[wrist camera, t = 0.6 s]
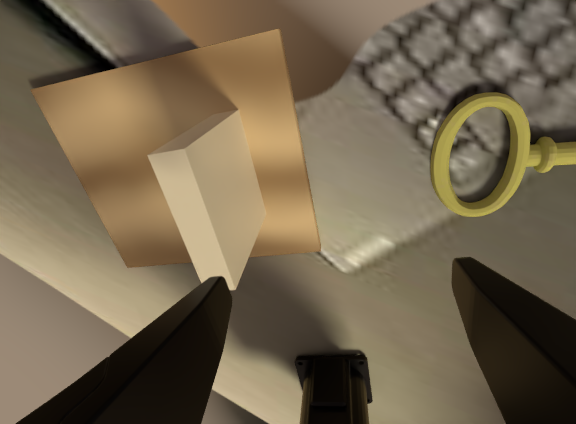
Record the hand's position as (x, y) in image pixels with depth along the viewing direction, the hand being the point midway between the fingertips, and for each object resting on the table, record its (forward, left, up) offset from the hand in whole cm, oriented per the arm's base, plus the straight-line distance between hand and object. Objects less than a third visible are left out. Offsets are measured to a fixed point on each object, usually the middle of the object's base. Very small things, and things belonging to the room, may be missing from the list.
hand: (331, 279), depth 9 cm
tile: (0, +6, -11) cm, 13 cm away
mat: (0, +10, -12) cm, 15 cm away
